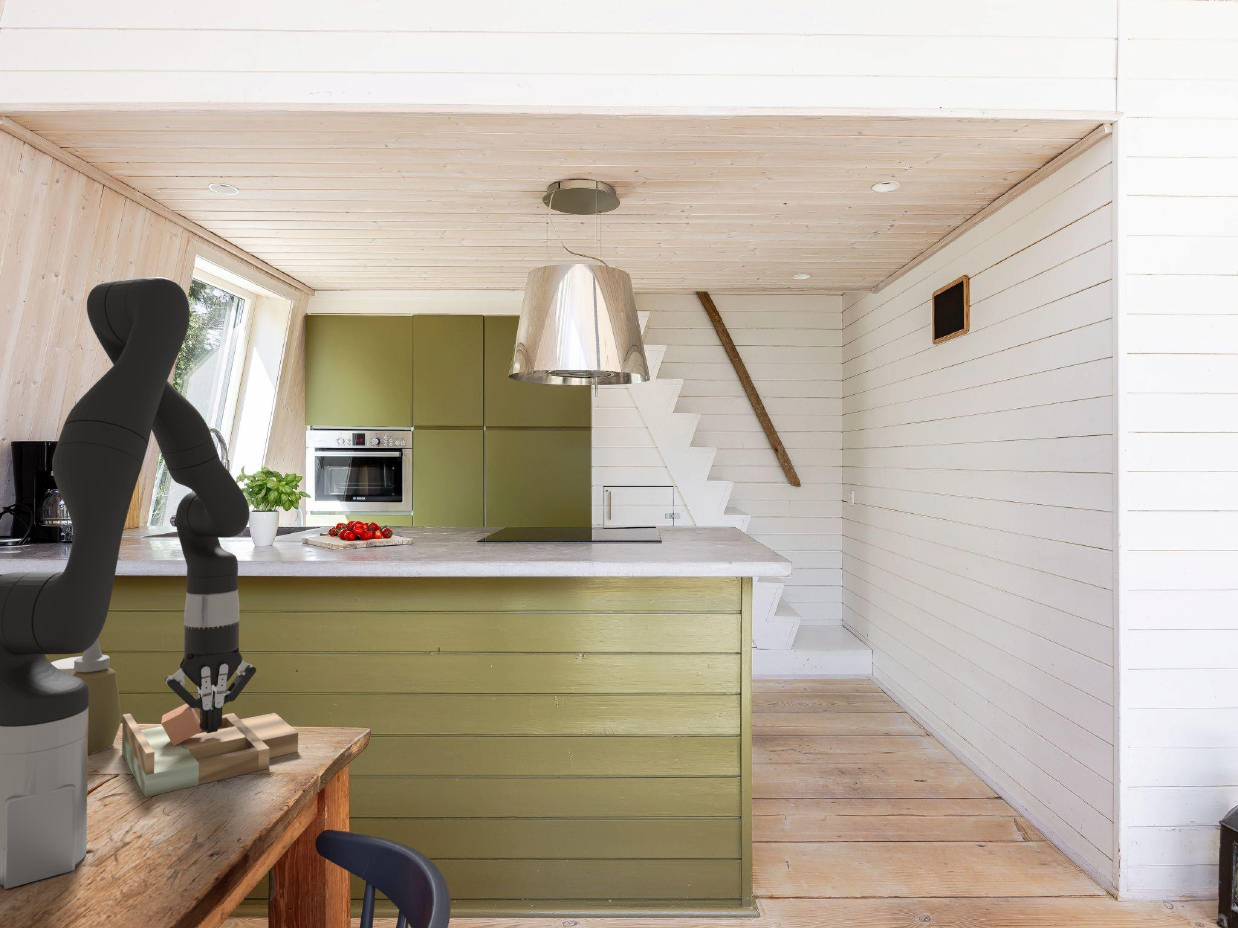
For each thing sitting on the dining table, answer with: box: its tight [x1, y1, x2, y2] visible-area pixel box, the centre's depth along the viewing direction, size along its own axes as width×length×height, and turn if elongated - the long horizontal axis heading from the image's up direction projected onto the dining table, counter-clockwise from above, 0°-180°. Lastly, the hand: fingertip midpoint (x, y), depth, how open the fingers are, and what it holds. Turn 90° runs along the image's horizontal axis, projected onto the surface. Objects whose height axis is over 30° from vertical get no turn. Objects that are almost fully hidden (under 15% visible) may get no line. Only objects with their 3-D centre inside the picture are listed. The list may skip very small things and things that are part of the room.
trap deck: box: [121, 712, 299, 798], centre depth 119 cm, size 20×22×6 cm
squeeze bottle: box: [70, 637, 123, 754], centre depth 121 cm, size 8×8×18 cm
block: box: [161, 702, 201, 746], centre depth 117 cm, size 4×4×4 cm
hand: (211, 730), depth 119 cm, fingers closed
